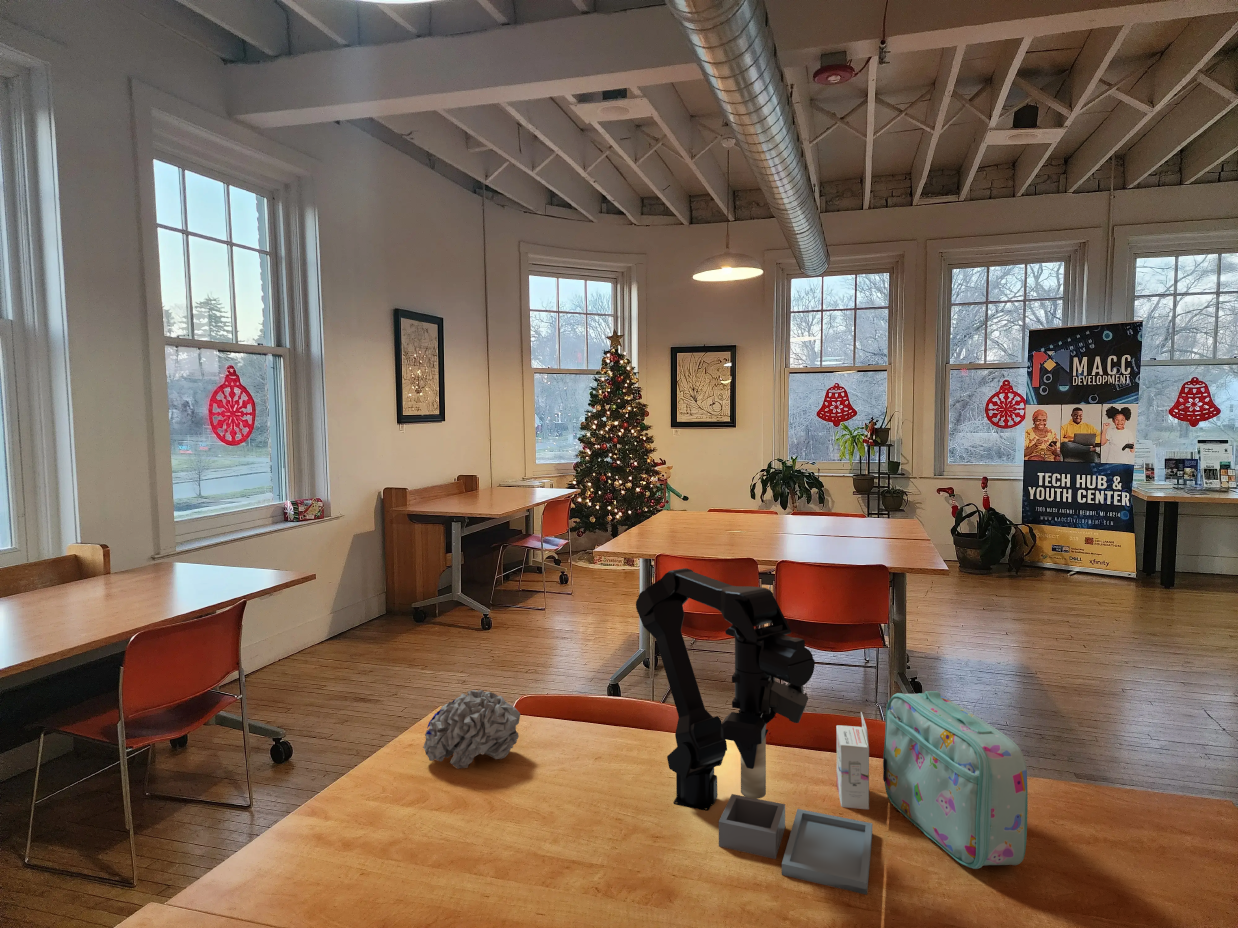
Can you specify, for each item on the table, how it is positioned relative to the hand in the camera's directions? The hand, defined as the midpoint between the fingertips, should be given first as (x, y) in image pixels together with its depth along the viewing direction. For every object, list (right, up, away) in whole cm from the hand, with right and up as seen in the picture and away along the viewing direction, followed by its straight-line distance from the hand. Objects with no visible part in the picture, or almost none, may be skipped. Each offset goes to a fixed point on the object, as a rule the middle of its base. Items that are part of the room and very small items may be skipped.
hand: (753, 761), depth 113 cm
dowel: (0, -5, 0) cm, 5 cm away
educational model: (-52, -12, +30) cm, 61 cm away
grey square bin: (0, -13, +1) cm, 13 cm away
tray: (+11, -13, -4) cm, 18 cm away
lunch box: (+32, -13, +2) cm, 35 cm away
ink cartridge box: (+20, -12, +13) cm, 27 cm away
